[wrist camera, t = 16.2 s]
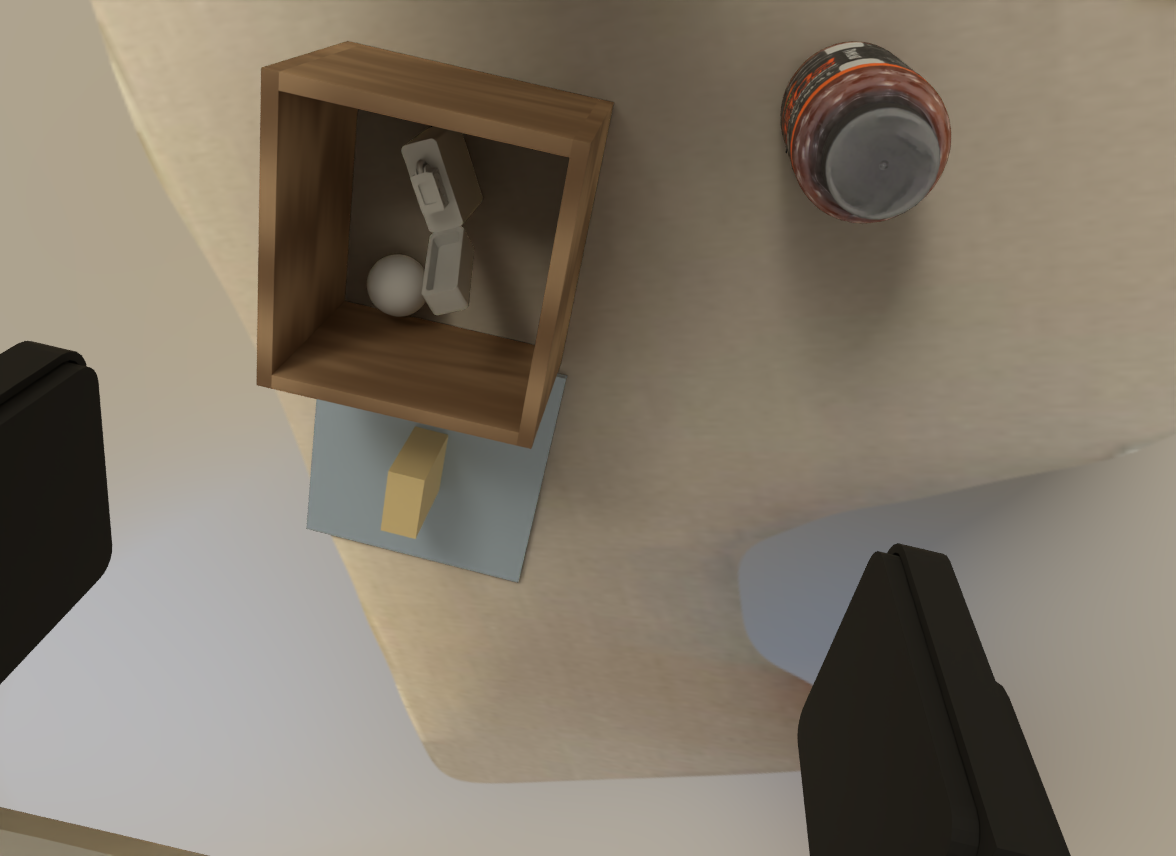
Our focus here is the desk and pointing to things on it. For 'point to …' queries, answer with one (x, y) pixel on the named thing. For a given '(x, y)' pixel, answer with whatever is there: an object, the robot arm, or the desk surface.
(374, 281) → the grey ball
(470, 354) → the box
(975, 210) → the desk surface
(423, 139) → the lighter
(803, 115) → the supplement bottle
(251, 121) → the desk surface
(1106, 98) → the desk surface
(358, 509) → the lid
